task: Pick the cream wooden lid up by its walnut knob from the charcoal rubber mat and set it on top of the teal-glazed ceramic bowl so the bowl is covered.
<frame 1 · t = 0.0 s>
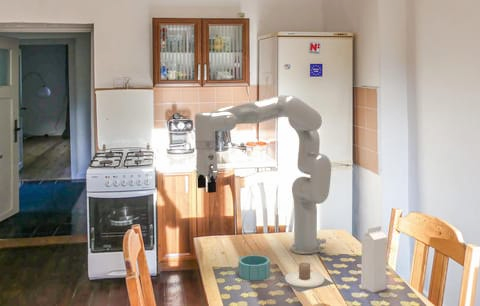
hand: (206, 190, 196), 31 cm above the table, fingers open, 9 cm apart
milk: (373, 289, 178), on the table
lid: (304, 280, 185), resting on mat
bowl: (254, 275, 192), on the table
mat: (304, 281, 185), on the table
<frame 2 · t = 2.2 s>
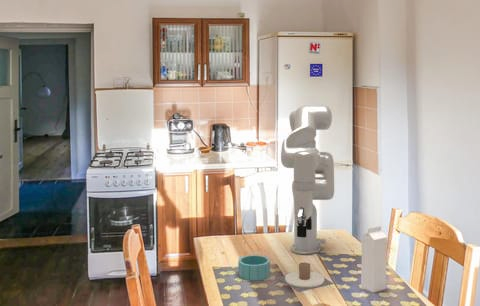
hand: (304, 233, 183), 18 cm above the table, fingers open, 9 cm apart
nothing on the table moved.
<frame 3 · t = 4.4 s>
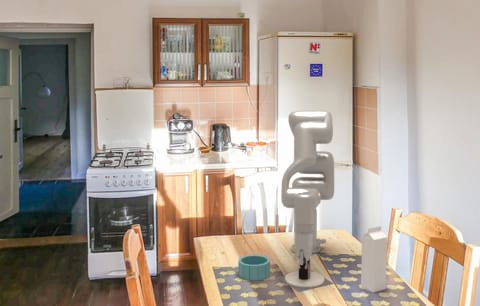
hand: (304, 276, 185), 2 cm above the table, fingers closed on lid, 4 cm apart
lid: (304, 280, 185), resting on mat, touching gripper
everything else where it was.
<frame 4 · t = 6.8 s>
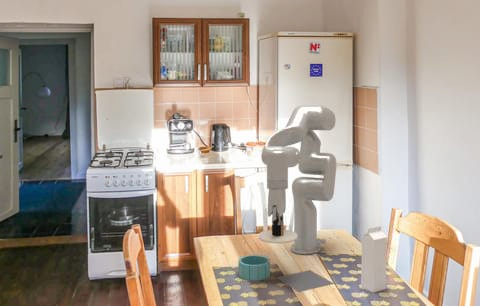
hand: (277, 233, 186), 17 cm above the table, fingers closed on lid, 4 cm apart
lid: (278, 237, 187), point 16 cm above the table, touching gripper
everything else where it was.
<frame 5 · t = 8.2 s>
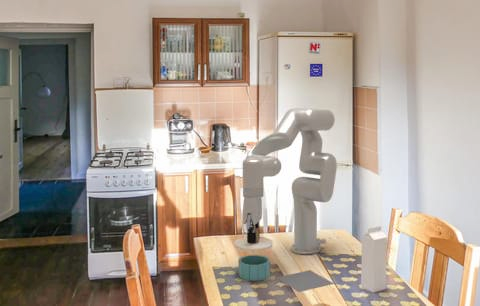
hand: (253, 240, 190), 14 cm above the table, fingers closed on lid, 4 cm apart
lid: (253, 244, 190), point 12 cm above the table, touching gripper
everything else where it was.
when the fingers open (9 cm above the table, at t = 9.3 s): lid stays where it is, resting on bowl.
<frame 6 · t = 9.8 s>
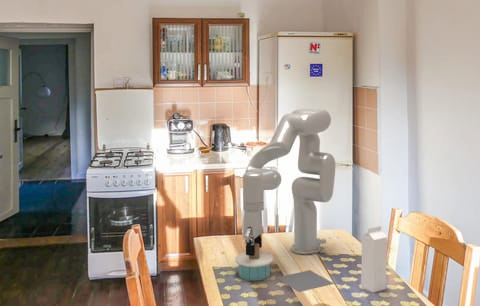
hand: (254, 251, 191), 10 cm above the table, fingers open, 9 cm apart
lid: (254, 260, 191), point 6 cm above the table, touching bowl
bowl: (254, 275, 192), on the table, touching lid
everything else where it was.
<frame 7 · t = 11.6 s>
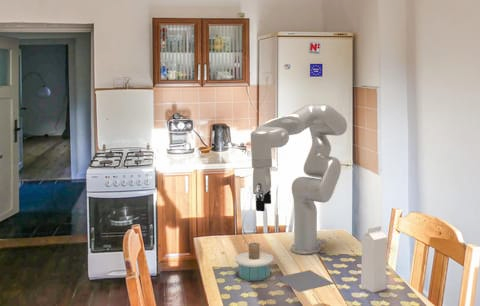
hand: (263, 207, 196), 24 cm above the table, fingers open, 9 cm apart
nothing on the table moved.
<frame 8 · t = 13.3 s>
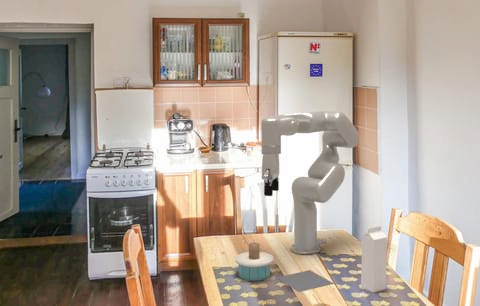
hand: (271, 193, 202), 28 cm above the table, fingers open, 9 cm apart
nothing on the table moved.
at the end: lid 0.1 cm from the bowl (horizontally); lid point 6.0 cm above the table; lid tilted 0° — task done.
